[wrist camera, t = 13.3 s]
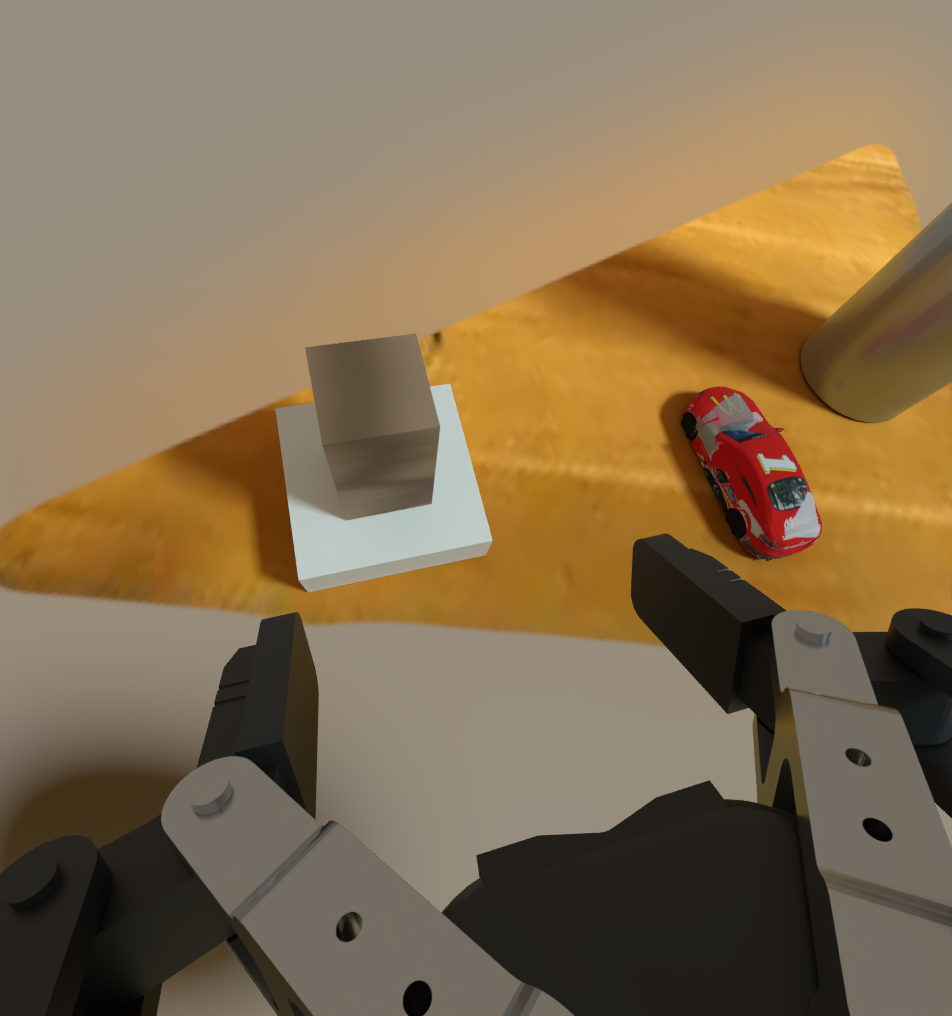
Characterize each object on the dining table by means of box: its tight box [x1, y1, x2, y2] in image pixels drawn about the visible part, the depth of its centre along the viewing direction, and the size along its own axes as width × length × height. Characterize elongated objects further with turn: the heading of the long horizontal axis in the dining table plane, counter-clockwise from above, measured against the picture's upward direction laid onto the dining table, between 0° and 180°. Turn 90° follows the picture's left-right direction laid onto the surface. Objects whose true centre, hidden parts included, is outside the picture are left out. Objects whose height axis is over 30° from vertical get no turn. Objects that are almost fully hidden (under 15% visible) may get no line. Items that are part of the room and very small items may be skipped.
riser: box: [275, 384, 492, 592], centre depth 33 cm, size 11×11×3 cm
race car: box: [681, 387, 822, 561], centre depth 36 cm, size 13×5×4 cm, turn 15°
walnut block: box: [305, 334, 440, 521], centre depth 27 cm, size 5×5×9 cm
